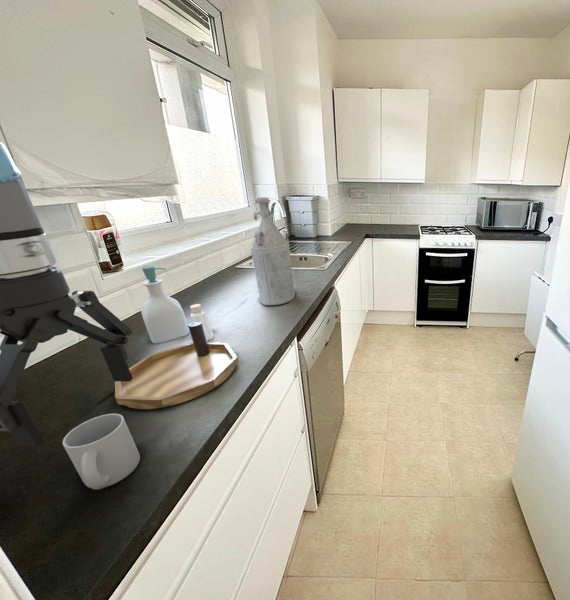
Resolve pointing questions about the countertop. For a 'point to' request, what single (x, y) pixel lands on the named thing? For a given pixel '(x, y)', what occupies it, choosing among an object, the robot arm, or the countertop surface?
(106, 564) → the countertop surface
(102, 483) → the cup
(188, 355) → the tray
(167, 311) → the soap bottle
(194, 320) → the salt shaker
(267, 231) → the grey jug bottle
